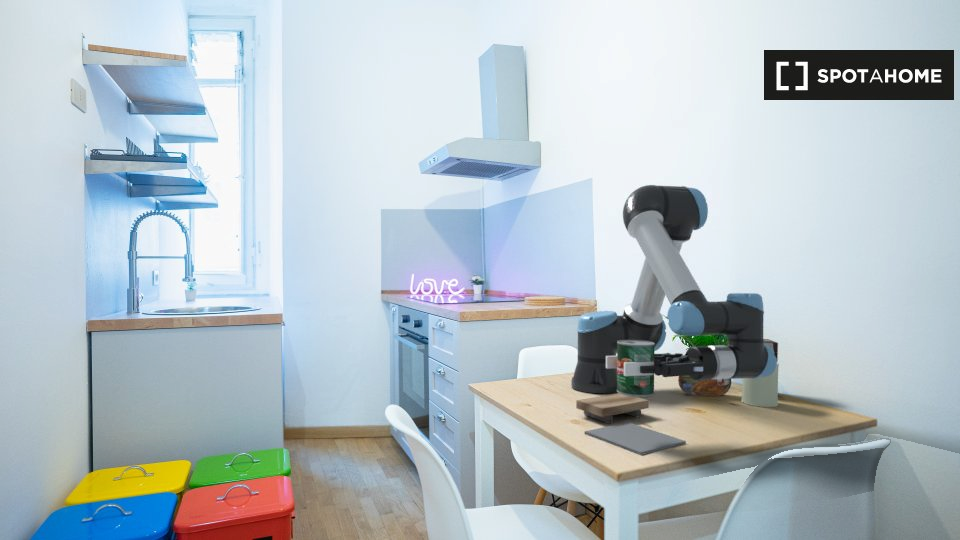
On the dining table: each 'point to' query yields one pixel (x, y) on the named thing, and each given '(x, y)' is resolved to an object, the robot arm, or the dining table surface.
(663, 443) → the flat gray pad
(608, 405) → the wooden serving board
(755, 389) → the pale green cup
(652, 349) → the canned tomato
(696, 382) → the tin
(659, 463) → the dining table surface
